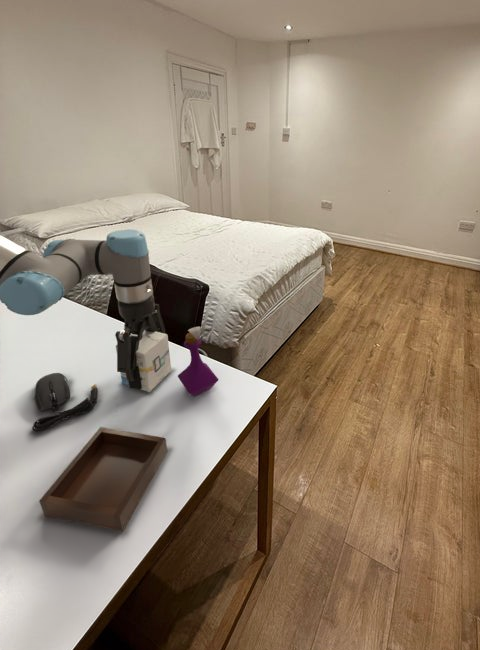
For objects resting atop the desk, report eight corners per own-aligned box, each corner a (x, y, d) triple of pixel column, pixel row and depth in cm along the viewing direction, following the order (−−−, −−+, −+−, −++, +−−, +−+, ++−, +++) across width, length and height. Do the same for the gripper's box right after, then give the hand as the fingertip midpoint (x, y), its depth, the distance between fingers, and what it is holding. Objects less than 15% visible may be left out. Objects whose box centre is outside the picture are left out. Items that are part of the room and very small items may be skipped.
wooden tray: (44, 515, 53) (38, 501, 52) (103, 440, 66) (100, 426, 65) (123, 531, 52) (119, 516, 50) (167, 451, 65) (165, 437, 63)
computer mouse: (94, 365, 86) (91, 353, 84) (101, 410, 73) (97, 397, 71) (36, 383, 79) (32, 370, 78) (32, 436, 66) (27, 422, 64)
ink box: (121, 383, 80) (113, 345, 76) (145, 362, 87) (140, 326, 83) (149, 393, 78) (143, 354, 73) (172, 370, 85) (168, 333, 81)
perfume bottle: (178, 385, 81) (171, 325, 74) (206, 373, 85) (202, 315, 79) (190, 404, 75) (183, 341, 69) (219, 390, 80) (216, 329, 73)
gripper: (119, 325, 63) (135, 410, 72) (174, 278, 84) (181, 348, 92) (85, 320, 64) (104, 405, 73) (147, 275, 84) (156, 345, 93)
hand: (147, 373), depth 82 cm, fingers closed on ink box, 9 cm apart
